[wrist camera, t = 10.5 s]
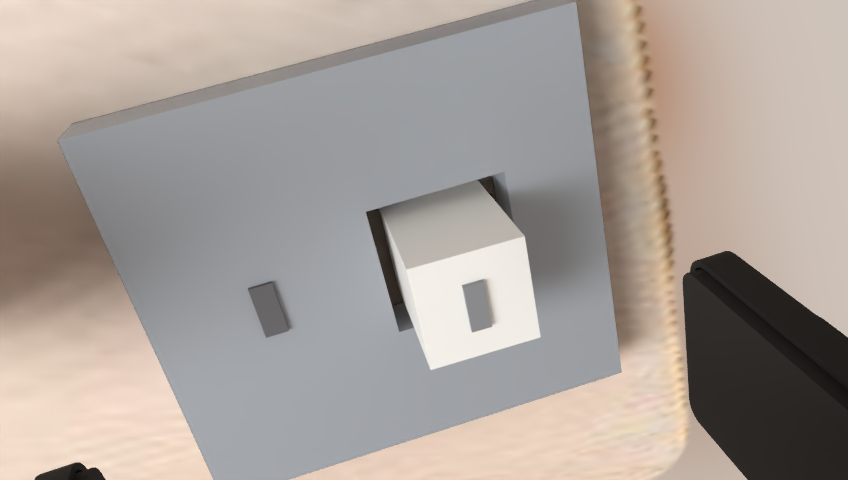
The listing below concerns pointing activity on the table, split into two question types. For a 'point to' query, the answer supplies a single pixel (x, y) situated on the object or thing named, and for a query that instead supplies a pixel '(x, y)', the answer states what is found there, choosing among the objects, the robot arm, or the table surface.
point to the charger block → (461, 273)
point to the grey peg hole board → (351, 235)
